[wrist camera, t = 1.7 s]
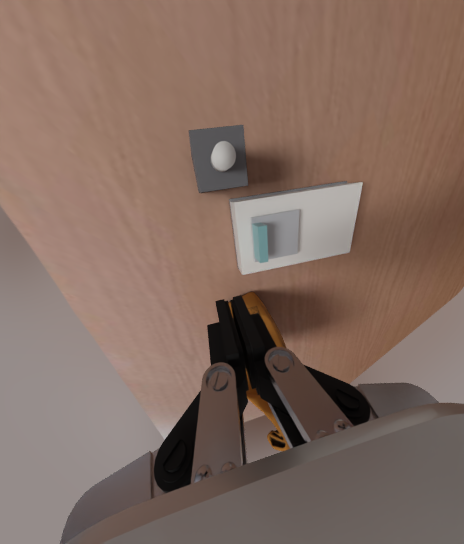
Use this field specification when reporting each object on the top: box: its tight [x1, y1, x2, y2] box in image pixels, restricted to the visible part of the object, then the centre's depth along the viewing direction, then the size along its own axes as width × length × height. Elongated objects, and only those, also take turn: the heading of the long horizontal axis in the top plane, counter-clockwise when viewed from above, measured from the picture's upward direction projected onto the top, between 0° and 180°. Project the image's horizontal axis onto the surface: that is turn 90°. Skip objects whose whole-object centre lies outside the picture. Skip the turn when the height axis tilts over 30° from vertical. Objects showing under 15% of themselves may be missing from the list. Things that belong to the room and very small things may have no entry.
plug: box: [189, 125, 248, 193], centre depth 18 cm, size 4×4×12 cm
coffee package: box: [229, 292, 290, 451], centre depth 26 cm, size 10×12×22 cm
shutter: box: [250, 209, 299, 263], centre depth 24 cm, size 7×7×3 cm
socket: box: [229, 181, 363, 275], centre depth 27 cm, size 20×12×4 cm, turn 98°
